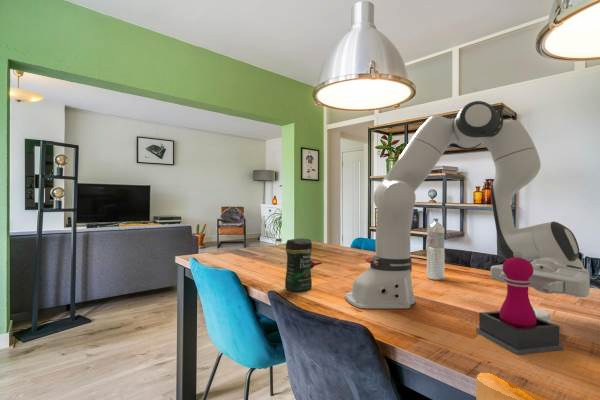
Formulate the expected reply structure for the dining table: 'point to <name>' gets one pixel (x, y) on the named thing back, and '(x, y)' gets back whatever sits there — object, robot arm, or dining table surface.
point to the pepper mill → (517, 293)
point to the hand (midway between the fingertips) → (522, 283)
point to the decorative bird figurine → (314, 264)
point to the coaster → (542, 314)
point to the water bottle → (435, 251)
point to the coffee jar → (298, 265)
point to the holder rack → (520, 334)
